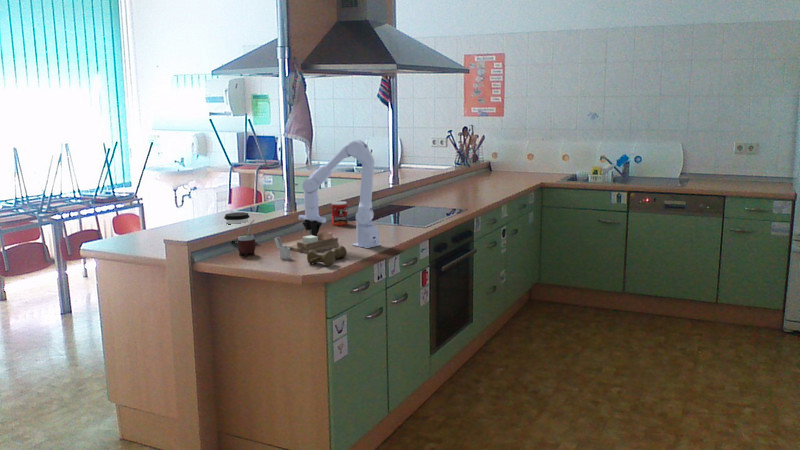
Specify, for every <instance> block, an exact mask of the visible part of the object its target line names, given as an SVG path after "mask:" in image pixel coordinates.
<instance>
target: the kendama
mask: <svg viewBox="0 0 800 450" xmlns="http://www.w3.org/2000/svg"><path fill="white" fill-rule="evenodd" d="M330 249H331V250H328V251H326V252H323V253H322V252H321V253H320V252H319V251H315V250H310V251H309V252H308V253H306V254H307V255H306V258H307V263H308V264H309V263H314V264H316V263H323V264H324V265H325V266H326V267H328V266H329V267H331V265H332V266H333V265H334V264H335V261H336V260H338V259H339V258H340V259H344V258H346V257H347V252H348V251H347V249H346V247H345V246H344V245H339V246H338V247H334V248H330Z"/></svg>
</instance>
